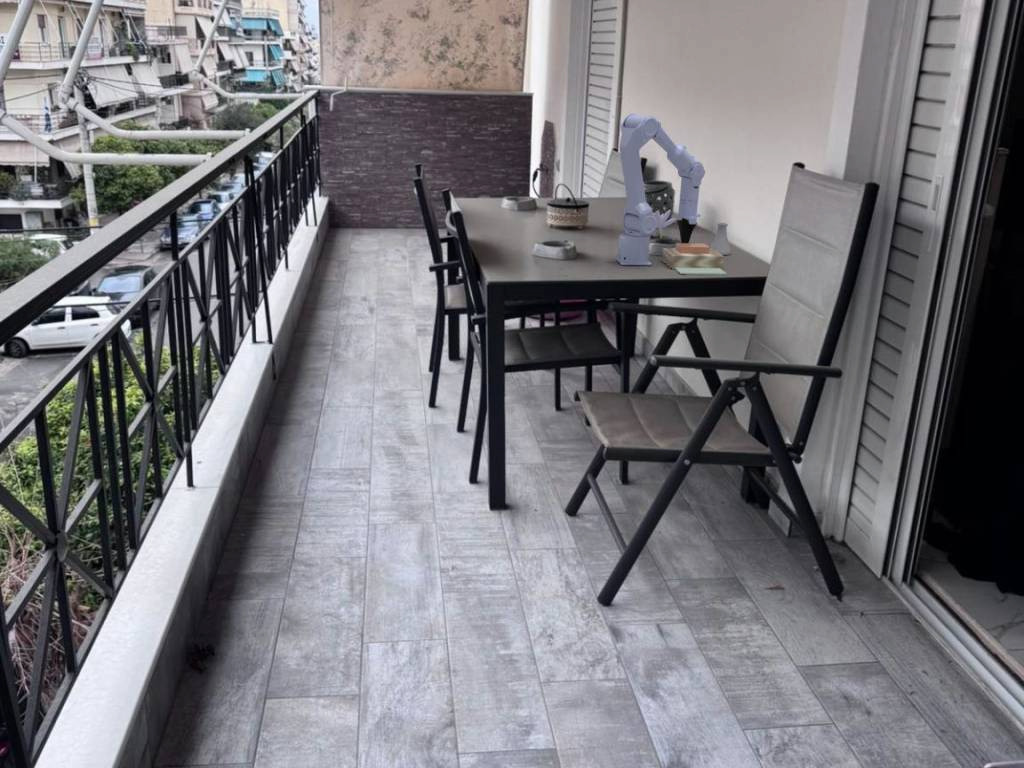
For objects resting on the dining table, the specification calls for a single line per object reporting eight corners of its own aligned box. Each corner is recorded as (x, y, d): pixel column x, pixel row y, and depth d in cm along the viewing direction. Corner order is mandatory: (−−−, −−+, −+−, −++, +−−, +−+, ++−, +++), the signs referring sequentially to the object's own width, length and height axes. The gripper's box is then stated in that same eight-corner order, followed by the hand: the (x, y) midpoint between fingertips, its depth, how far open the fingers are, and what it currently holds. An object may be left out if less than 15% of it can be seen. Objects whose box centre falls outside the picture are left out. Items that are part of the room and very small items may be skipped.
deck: (670, 269, 277) (672, 255, 275) (661, 260, 288) (662, 247, 287) (722, 269, 278) (724, 256, 277) (711, 261, 289) (713, 248, 288)
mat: (680, 274, 270) (680, 273, 270) (674, 269, 277) (674, 267, 277) (726, 275, 271) (727, 273, 271) (719, 269, 278) (719, 268, 278)
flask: (720, 257, 296) (723, 226, 293) (703, 253, 302) (706, 222, 298) (735, 254, 300) (738, 224, 297) (718, 250, 306) (721, 220, 303)
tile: (680, 253, 280) (680, 246, 279) (675, 249, 285) (676, 243, 284) (709, 253, 280) (709, 247, 280) (703, 249, 286) (704, 243, 285)
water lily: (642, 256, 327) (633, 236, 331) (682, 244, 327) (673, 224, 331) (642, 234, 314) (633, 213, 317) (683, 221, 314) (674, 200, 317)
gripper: (707, 203, 280) (703, 247, 285) (695, 196, 294) (691, 239, 298) (685, 203, 280) (681, 247, 284) (673, 196, 293) (669, 238, 298)
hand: (684, 243), depth 291 cm, fingers closed
